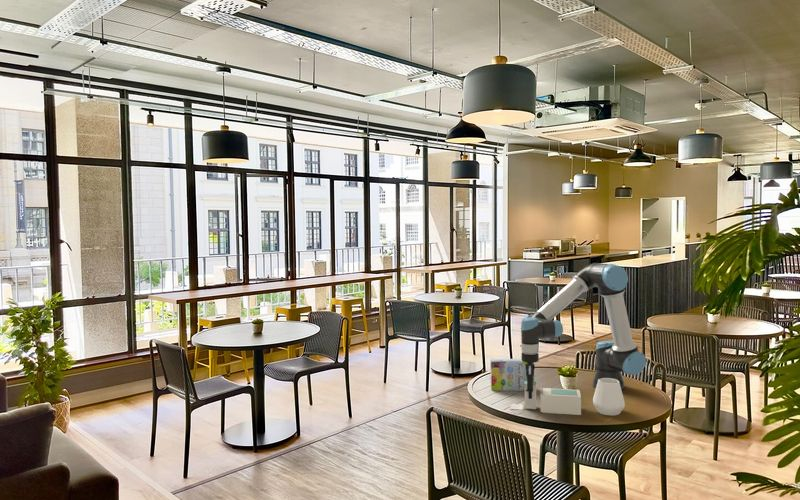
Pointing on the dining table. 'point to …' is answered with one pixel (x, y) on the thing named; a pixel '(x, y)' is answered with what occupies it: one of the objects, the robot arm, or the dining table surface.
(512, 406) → the pad
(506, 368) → the snack box
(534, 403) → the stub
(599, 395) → the white vase
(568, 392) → the white tissue box
